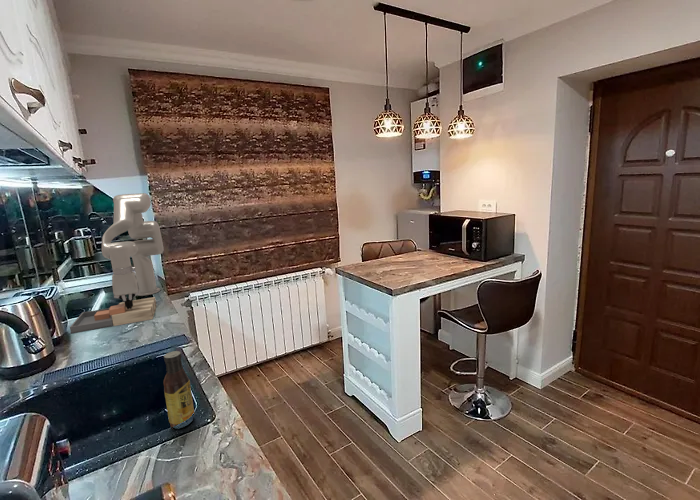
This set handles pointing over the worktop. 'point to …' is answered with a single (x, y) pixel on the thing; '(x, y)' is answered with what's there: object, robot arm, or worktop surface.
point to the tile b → (117, 309)
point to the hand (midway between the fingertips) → (129, 307)
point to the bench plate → (136, 312)
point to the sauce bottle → (177, 390)
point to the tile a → (102, 315)
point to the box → (90, 322)
